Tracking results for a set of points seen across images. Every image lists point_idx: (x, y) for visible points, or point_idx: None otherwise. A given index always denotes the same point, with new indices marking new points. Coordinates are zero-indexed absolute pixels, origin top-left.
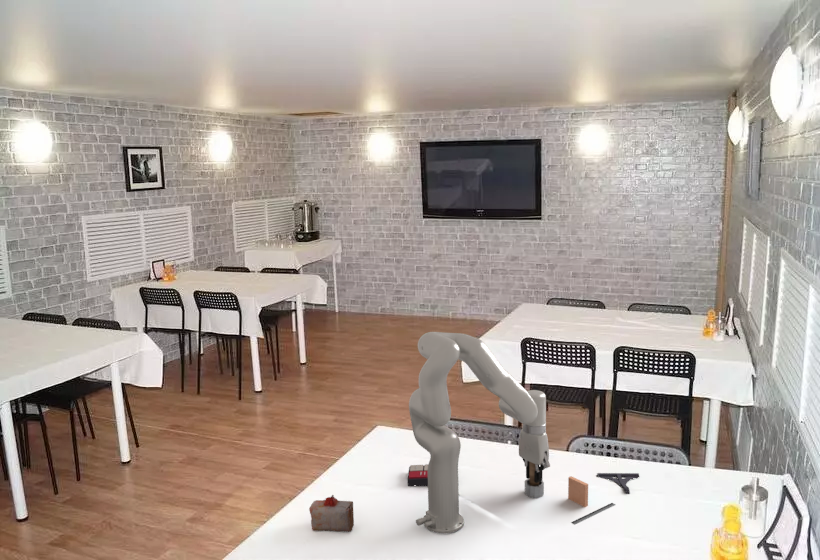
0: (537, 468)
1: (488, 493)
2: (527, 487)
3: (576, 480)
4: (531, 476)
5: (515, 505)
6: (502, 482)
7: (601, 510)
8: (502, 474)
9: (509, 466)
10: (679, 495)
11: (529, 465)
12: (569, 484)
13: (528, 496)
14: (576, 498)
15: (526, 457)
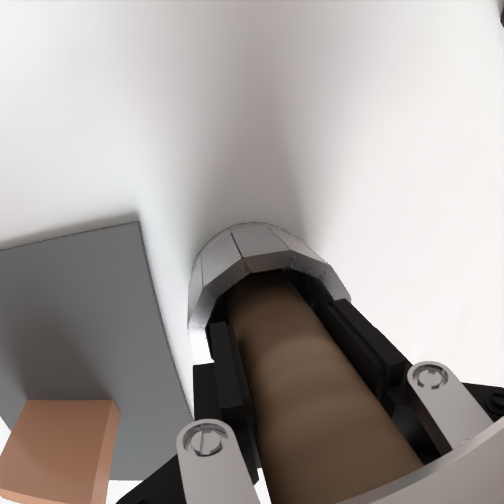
0: (198, 468)
1: (415, 74)
2: (262, 245)
3: (43, 502)
4: (283, 336)
5: (216, 96)
6: (456, 221)
7: (10, 426)
8: (488, 269)
9: (494, 328)
10: None
11: (379, 414)
12: (89, 470)
13: (239, 228)
14: (59, 421)
15: (497, 495)
